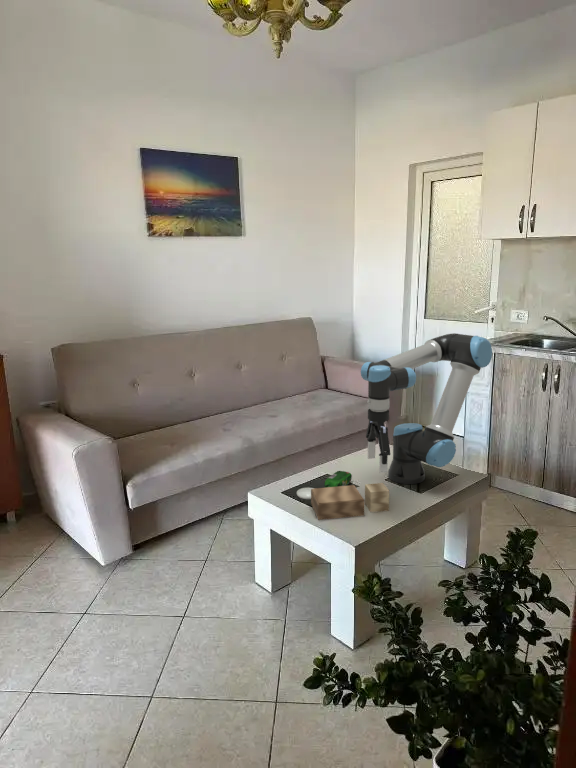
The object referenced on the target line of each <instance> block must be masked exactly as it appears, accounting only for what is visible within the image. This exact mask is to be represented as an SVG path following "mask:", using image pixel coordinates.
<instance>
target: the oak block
mask: <svg viewBox="0 0 576 768" xmlns="http://www.w3.org/2000/svg"><path fill="white" fill-rule="evenodd" d="M364 485H365V486H364V500H365V501H364V506H365V507H366V508H367V509H368V511H369V512H370V513H378V512H379V513H380V512H387V511H390V489H389V488H388V487H387V486H386V485H385V483H384V482H377V483H368V484H367V483H366V484H364Z"/></svg>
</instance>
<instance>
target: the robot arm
mask: <svg viewBox="0 0 576 768" xmlns="http://www.w3.org/2000/svg"><path fill="white" fill-rule="evenodd" d="M492 357H493V348H492V345H491V342H490V341H489V340H488V339H487V338H485V337H484V336H479V335H471V334H461V333H447V334H444V335H440V336H439V335H438V336H436V337H434V338H431V339H428V340H426V341H425V342H424V343H423V345H420V346H416V347H413V348H411V349H409V350H406V351H404V352H401V353H399V354H396V355H394V356H390V357H388V358H386V359H383V360H379V361H377V362H374V361H366V362H364V363H363V365H361V368H360V376H361V378H362V379H363V380H364V381H365V382H366V381H368V383H367V384H368V385H367V390H368V391H367V393H368V396H367V397H368V399H367V400H366V403H367V408H368V409H367V419H368V424H367V428H366V433H365V438H366V439H367V459H369V460H371V459H376V442H377V441H378V446H379V452H380V453H379V454H378V456H379V466H378V471H379V474H381V473H387V475H388V478H389V480H391V481H392V482H394V483H398V484H403V485H416V484H419V483H423V482H424V481H425V479H426V472H425V469H424V465H423V463H426V464H427V465H430V466H433V467H436V468H443V467H446V465H449V464H450V462H452V461H453V459H454V457H455V455H456V451H457V449H456V447H457V446H456V443H455V442H454V439H455V436H454V434H453V430H454V428H455V425H456V423H457V420H458V417H459V414H460V413H461V409H462V407H463V405H464V402H465V399H466V397H467V395H468V391H469V389H470V387H471V384H472V382H473V381H472V380H473V378H474V376H476V375H478V374H480V371H481V369H483V368H486V367H488V366H489V364H490V363H491V361H492ZM441 361H442V362H443V361H444V362H445V361H446V362H447V361H448V362H450V363H449V365H450V366H451V371H450V374H449V375H448V376H449V377H448V378H447V381H446V384H445V387H444V390H443V392H442V394H441V396H440V399H439V402H438V404H437V408H436V410H435V413H434V415H433V417H432V420H431V422H430V424H428V425H425V428H423V425H422V424H420V423H416V422H415V423H413V422H409V423H400V424H398V425H396V426H395V427H394V429H393V435H392V461H391V463H390V464H389V465H390V466H389V468H388V459H389V456H391V447H390V439H389V428H388V426H386V425H385V422H387V421H388V420H389V419H390V410H389V409H390V400H391V399H390V398H391V397H390V395H391V392H393V391H399V390H403V389H404V390H406V389H407V388H411V387H413V386H415V385H416V382H417V374H416V372H415V371H414V369H416V368H418V367H422V366H423V365H426V364H429V363H430V362H431V363H438V362H441Z"/></svg>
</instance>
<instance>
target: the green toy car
mask: <svg viewBox="0 0 576 768" xmlns="http://www.w3.org/2000/svg"><path fill="white" fill-rule="evenodd" d="M352 478H353V476H352V474H351V472H349V471H344V470H337V471H335V472H334V473H332V474H331V475H330V476H328V477H327V478H326V479H325V481H324V488H327V487H338V486H349V484H351V482H352Z"/></svg>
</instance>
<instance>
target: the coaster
mask: <svg viewBox="0 0 576 768" xmlns="http://www.w3.org/2000/svg"><path fill="white" fill-rule="evenodd" d="M311 489H315V488H314V487H302V488H299V489H298V490H297V491H296V496H297V497H298V498H300V499H303V500H311Z"/></svg>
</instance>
